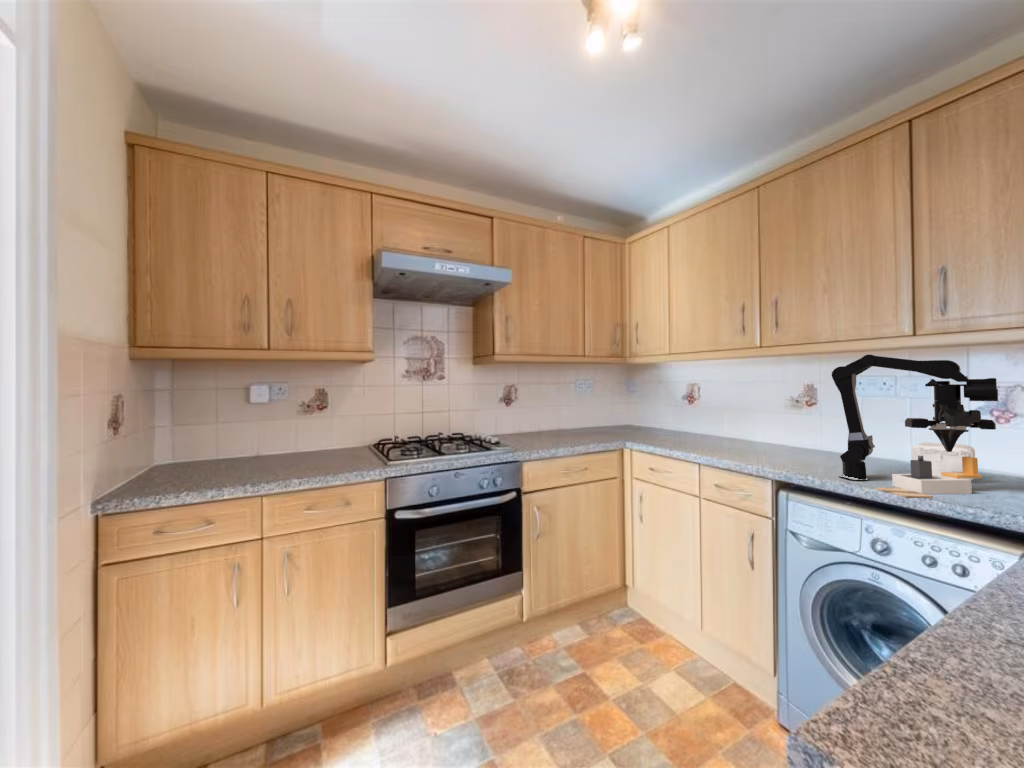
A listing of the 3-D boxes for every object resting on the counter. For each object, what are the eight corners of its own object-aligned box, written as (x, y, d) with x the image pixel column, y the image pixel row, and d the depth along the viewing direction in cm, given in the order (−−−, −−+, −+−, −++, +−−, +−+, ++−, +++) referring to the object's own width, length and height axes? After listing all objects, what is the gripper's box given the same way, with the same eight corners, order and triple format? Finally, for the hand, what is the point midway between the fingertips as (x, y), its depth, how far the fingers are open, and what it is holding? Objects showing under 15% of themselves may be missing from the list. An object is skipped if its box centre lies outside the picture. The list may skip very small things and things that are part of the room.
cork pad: (875, 489, 130) (875, 487, 130) (899, 489, 129) (899, 487, 129) (907, 497, 119) (906, 496, 119) (932, 497, 118) (932, 496, 118)
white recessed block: (892, 486, 133) (892, 474, 133) (938, 486, 132) (938, 473, 132) (921, 494, 123) (921, 480, 123) (971, 493, 122) (971, 480, 122)
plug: (901, 478, 131) (900, 454, 131) (924, 478, 130) (923, 454, 131) (918, 482, 125) (917, 457, 125) (943, 482, 124) (942, 457, 125)
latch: (941, 474, 130) (940, 456, 130) (964, 474, 129) (963, 456, 129) (957, 478, 125) (956, 458, 125) (981, 477, 124) (980, 458, 124)
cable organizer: (980, 480, 140) (978, 445, 140) (974, 484, 134) (972, 448, 134) (918, 473, 152) (917, 441, 153) (911, 477, 146) (909, 444, 147)
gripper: (919, 401, 125) (920, 453, 124) (1007, 401, 116) (1008, 457, 116) (903, 400, 135) (904, 448, 134) (983, 400, 126) (985, 451, 126)
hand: (948, 451), depth 127 cm, fingers closed
